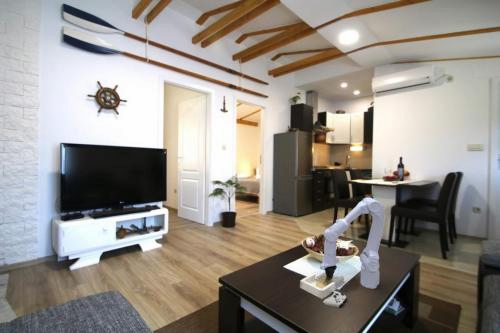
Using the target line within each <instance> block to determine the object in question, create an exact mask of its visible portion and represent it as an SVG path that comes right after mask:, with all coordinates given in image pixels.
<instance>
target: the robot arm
mask: <svg viewBox="0 0 500 333" xmlns="http://www.w3.org/2000/svg"><path fill="white" fill-rule="evenodd" d="M384 207H385V206H384V205H383V204H382V203H381V202H380V200H377V199H374V198H372V197H370V196H368V197H367V196H366V197H364V198H362V200H361V201H359V202H358V203H357V205H356V206H355V207H354V208H353V209H352V210H351V211H350V212H349V213H348V214H347V215H346V216H344V218H339V219H336V220H335V223H333V224H332V225H331V226H329V227H328V228H327V229H325V230H324V232H323V237H324V243H323V244H324V245H323V246H324V247H323V249H324V250H323V252H324V253H323V255H324V256H323V258H322V259H321V260H322V262H321V264H320V265H319V269H321V270H323V271H324V273H325V272H326V276H327V277H329V278H331V279H332V278H333V277H334V274H335V271H336V270H337V268H338V266H337V263H340V258H339V257H337V242H338V240H339V237H340V236H341V235H343V233H344V232H346V230H348V229H349V227H350V226H349V225H350V224H351V223H352V222H353V221H354V220H356V219H357V218H359V216H361V215H365V214H370V216H372V217H373V218H372V219H373V220H372V223H371V226H370V230H369V234H368V238H367V242H366V246H365V248H364V249H363V250H362V252H361V253H360V255H359V261H360V262H361V265H360V285H362V287H365V288H367V289H376V288H377V287H378V286H379V285H380V270H379V269H380V262H379V260H380V257H379V248H380V244H381V241H382V237H383V233H384V228H385V224H386V221H387V215H386V212H385V208H384Z"/></svg>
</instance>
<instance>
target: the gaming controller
mask: <svg viewBox="0 0 500 333" xmlns="http://www.w3.org/2000/svg"><path fill="white" fill-rule="evenodd" d="M330 294H331V296H329V297H327V298H324V300H323V301H322V302H323V304H324V305H326V306H330V307H332V308H333V307H334V308H340V309H341V308H343V306H344V303H345V302H347V300H348V297H347V296H346V295H345V293H344V292H339V291H337V290H335V291H332V292H331V293H330Z"/></svg>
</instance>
